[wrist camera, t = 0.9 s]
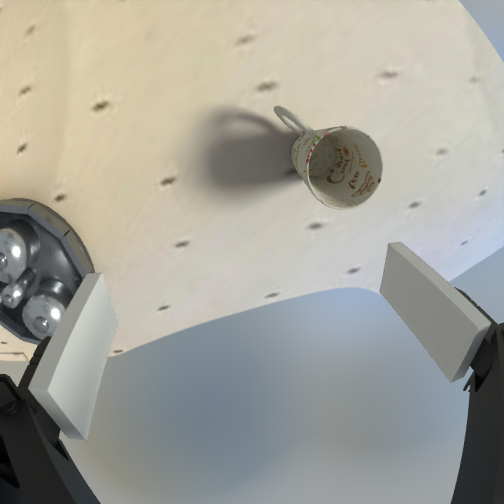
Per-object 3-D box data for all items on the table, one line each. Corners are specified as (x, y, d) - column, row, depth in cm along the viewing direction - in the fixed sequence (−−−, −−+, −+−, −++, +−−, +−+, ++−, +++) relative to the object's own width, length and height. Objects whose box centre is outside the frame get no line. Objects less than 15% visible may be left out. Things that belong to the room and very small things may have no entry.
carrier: (-41, 236, 32) (-67, 257, 25) (47, 168, 32) (15, 183, 25) (29, 345, 43) (13, 375, 36) (125, 313, 43) (114, 349, 35)
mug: (314, 198, 39) (345, 226, 30) (241, 135, 34) (253, 142, 25) (355, 153, 37) (396, 168, 28) (286, 85, 32) (314, 76, 23)
